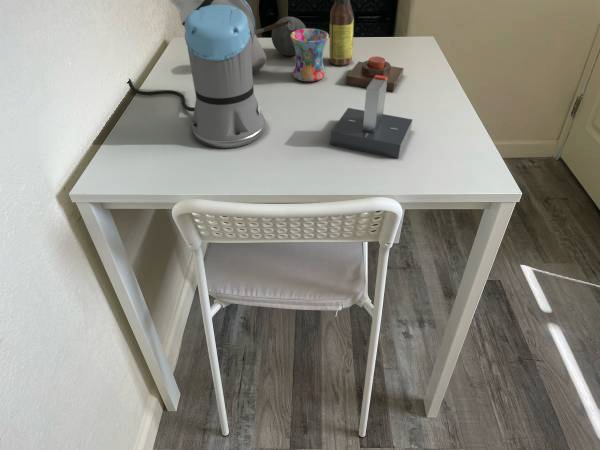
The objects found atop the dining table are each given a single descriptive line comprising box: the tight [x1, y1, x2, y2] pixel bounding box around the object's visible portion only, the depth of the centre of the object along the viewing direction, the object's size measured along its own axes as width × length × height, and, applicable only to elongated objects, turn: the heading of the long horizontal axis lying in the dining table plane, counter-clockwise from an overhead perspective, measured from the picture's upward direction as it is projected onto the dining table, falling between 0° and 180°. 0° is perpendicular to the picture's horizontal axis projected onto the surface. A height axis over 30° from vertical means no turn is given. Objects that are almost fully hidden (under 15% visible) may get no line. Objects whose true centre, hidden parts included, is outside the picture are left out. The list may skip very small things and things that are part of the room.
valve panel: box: [330, 107, 413, 159], centre depth 93 cm, size 14×11×3 cm
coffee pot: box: [251, 20, 295, 75], centre depth 115 cm, size 21×12×15 cm, turn 56°
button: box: [368, 56, 386, 69], centre depth 113 cm, size 4×4×2 cm
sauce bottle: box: [329, 0, 355, 66], centre depth 118 cm, size 6×6×20 cm
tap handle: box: [363, 75, 388, 133], centre depth 89 cm, size 6×2×9 cm, turn 157°
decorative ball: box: [271, 16, 307, 57], centre depth 126 cm, size 10×10×10 cm
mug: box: [290, 28, 330, 82], centre depth 115 cm, size 12×9×11 cm
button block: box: [345, 59, 404, 93], centre depth 115 cm, size 12×10×4 cm
